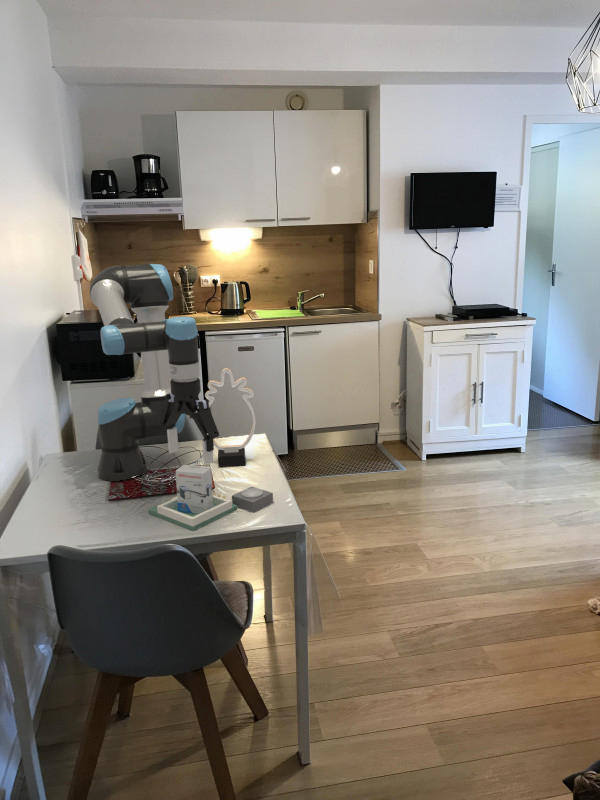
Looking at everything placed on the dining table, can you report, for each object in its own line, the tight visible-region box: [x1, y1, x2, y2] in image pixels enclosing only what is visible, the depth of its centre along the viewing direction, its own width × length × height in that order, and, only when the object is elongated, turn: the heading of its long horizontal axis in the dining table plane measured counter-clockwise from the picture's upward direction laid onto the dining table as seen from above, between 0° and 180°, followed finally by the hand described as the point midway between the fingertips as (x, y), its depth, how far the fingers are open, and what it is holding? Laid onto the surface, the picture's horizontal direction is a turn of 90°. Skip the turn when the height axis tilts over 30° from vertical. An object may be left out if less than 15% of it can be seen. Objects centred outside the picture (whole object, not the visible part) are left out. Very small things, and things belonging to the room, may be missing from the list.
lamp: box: [204, 367, 257, 469], centre depth 209 cm, size 17×9×32 cm, turn 96°
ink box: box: [175, 464, 214, 514], centre depth 172 cm, size 9×5×12 cm, turn 72°
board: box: [147, 492, 238, 532], centre depth 175 cm, size 18×16×3 cm
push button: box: [231, 486, 274, 514], centre depth 179 cm, size 8×8×4 cm
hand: (190, 457), depth 170 cm, fingers open, 13 cm apart
